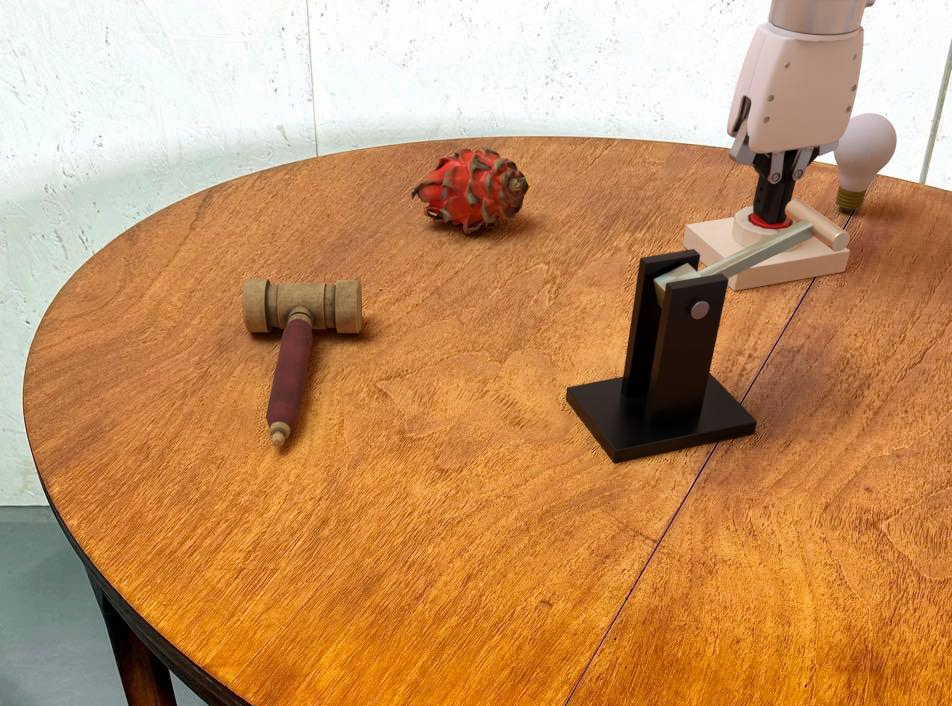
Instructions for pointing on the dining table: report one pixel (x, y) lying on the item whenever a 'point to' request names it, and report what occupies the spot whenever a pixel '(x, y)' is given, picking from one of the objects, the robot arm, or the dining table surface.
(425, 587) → the dining table surface
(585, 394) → the bracket
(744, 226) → the button box
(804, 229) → the lever
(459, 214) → the dragon fruit
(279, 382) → the gavel
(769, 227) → the button
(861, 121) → the light bulb
